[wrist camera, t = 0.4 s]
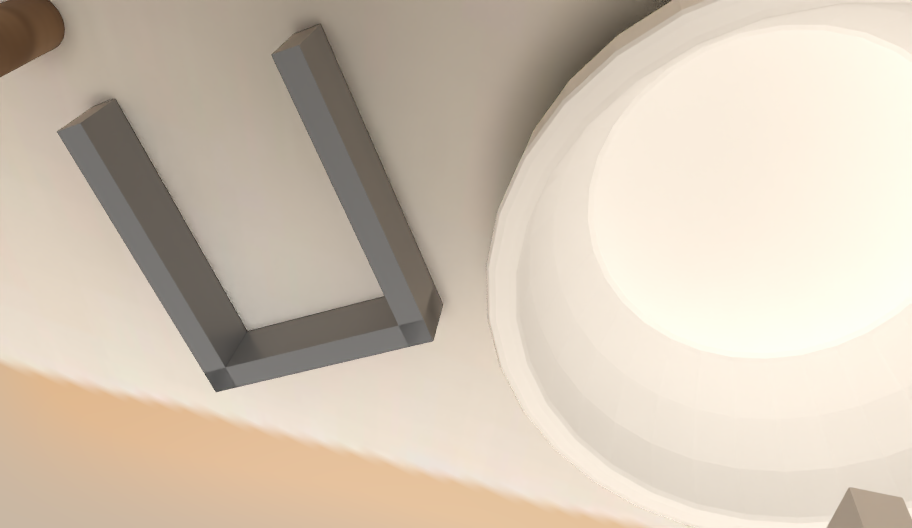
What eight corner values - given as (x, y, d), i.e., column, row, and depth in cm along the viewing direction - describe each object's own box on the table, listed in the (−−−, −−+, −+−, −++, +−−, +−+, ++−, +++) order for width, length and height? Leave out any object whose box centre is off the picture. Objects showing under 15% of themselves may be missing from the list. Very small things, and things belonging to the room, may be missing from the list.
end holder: (92, 106, 38) (57, 131, 35) (320, 24, 35) (298, 44, 32) (237, 355, 44) (215, 392, 41) (442, 304, 41) (433, 341, 38)
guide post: (-2, 4, 36) (-81, 36, 32) (43, -15, 35) (-31, 16, 31) (30, 57, 37) (-42, 96, 33) (74, 40, 36) (6, 77, 32)
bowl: (757, 481, 44) (790, 621, 37) (403, 223, 39) (362, 327, 32) (1200, 174, 33) (1368, 286, 26) (791, -232, 28) (859, -230, 21)
